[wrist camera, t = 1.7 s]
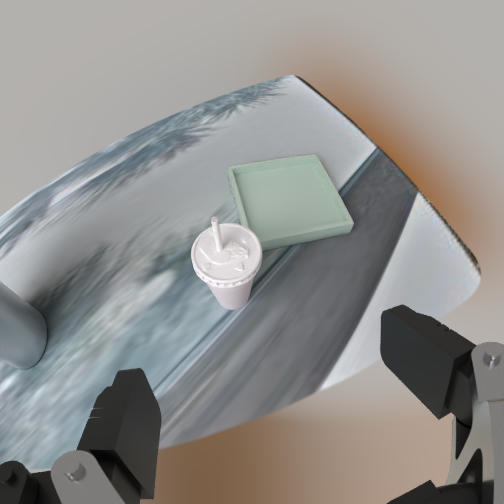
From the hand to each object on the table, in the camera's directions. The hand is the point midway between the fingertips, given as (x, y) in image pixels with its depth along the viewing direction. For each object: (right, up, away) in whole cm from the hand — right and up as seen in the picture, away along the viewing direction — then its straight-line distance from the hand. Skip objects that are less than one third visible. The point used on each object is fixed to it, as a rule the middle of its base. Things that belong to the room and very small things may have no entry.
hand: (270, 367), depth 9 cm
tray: (+4, +11, +33) cm, 35 cm away
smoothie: (-3, -1, +26) cm, 26 cm away
